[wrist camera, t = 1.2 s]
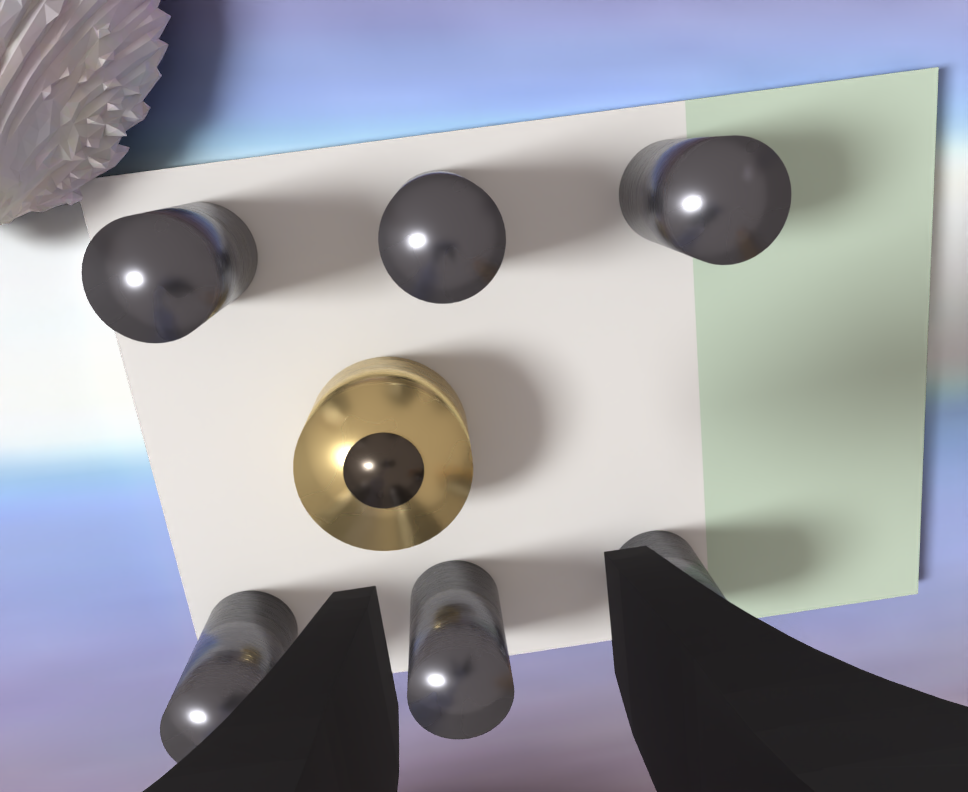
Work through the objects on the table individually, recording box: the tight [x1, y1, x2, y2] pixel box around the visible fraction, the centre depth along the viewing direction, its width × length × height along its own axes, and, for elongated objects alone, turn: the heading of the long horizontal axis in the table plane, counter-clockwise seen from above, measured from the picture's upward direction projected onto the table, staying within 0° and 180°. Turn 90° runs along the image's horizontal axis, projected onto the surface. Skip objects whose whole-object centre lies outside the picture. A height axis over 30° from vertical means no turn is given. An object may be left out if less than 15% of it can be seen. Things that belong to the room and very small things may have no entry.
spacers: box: [82, 135, 792, 763], centre depth 18 cm, size 12×14×4 cm
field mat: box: [79, 67, 939, 673], centre depth 21 cm, size 14×20×1 cm
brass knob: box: [293, 357, 473, 551], centre depth 19 cm, size 4×4×3 cm
